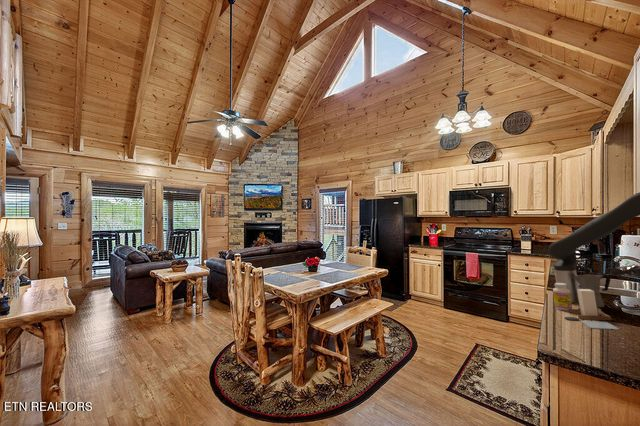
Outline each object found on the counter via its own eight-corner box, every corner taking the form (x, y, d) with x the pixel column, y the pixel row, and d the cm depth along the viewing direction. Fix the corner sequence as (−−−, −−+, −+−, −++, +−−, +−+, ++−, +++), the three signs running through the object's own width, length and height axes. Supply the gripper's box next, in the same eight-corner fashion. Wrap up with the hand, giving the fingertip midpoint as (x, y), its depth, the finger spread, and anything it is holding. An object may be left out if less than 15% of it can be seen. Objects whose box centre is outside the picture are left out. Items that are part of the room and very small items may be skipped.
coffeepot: (581, 307, 141) (576, 272, 143) (572, 302, 150) (567, 269, 151) (620, 307, 136) (614, 271, 137) (608, 303, 145) (603, 268, 146)
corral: (569, 312, 135) (569, 308, 135) (598, 313, 131) (598, 309, 131) (579, 318, 125) (578, 315, 125) (611, 320, 121) (611, 316, 121)
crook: (579, 311, 135) (579, 308, 135) (574, 308, 140) (574, 305, 140) (601, 312, 132) (600, 309, 132) (595, 309, 137) (595, 306, 137)
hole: (562, 317, 129) (562, 316, 129) (576, 317, 127) (576, 317, 127) (567, 320, 124) (567, 319, 124) (581, 321, 122) (581, 320, 122)
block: (581, 314, 131) (577, 289, 132) (593, 314, 129) (589, 289, 130) (585, 317, 127) (581, 291, 128) (598, 317, 125) (594, 291, 126)
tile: (580, 321, 122) (580, 320, 122) (607, 322, 118) (607, 321, 118) (590, 328, 114) (589, 327, 114) (619, 329, 110) (619, 328, 110)
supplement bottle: (557, 310, 139) (553, 284, 140) (553, 306, 145) (550, 282, 146) (574, 311, 136) (570, 285, 137) (570, 307, 142) (566, 282, 143)
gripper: (649, 257, 124) (600, 263, 132) (664, 259, 112) (610, 265, 121) (656, 274, 122) (606, 278, 131) (672, 278, 111) (616, 282, 119)
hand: (608, 272), depth 126 cm, fingers open, 8 cm apart
